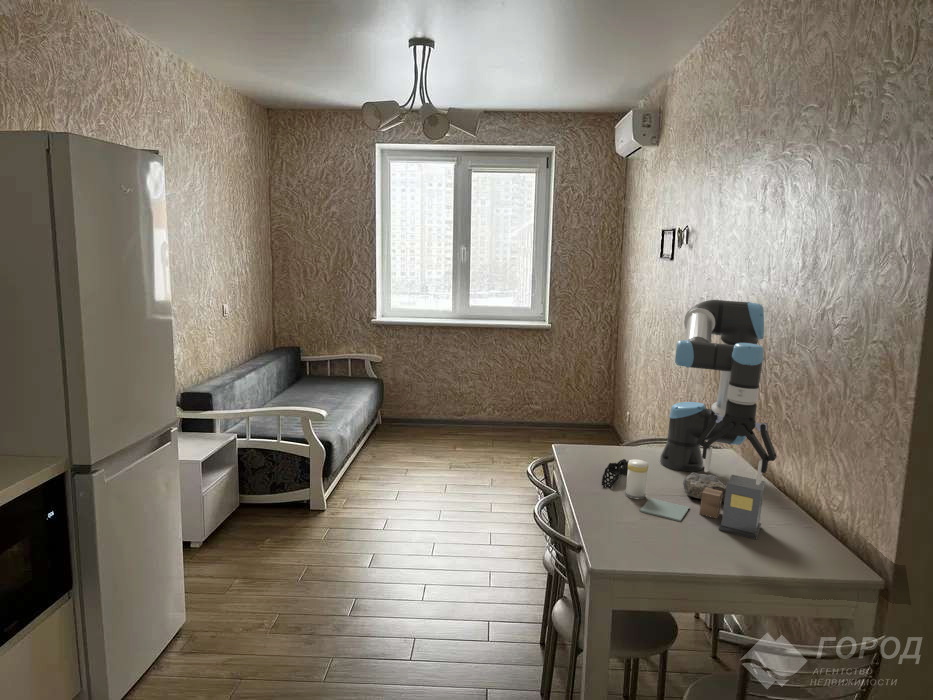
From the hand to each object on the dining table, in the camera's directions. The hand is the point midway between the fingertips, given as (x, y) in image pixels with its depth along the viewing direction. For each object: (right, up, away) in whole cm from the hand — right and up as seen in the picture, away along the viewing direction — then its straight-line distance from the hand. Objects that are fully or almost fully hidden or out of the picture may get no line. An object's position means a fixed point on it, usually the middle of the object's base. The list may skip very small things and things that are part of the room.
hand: (732, 477), depth 183 cm
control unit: (+6, -17, +10) cm, 21 cm away
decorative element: (-21, -10, +46) cm, 52 cm away
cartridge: (-19, -12, +31) cm, 38 cm away
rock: (+5, -13, +35) cm, 37 cm away
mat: (-12, -14, +21) cm, 28 cm away
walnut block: (+1, -15, +20) cm, 25 cm away
